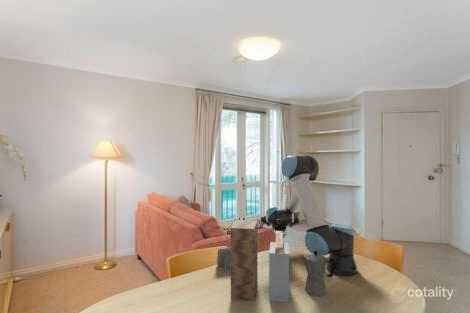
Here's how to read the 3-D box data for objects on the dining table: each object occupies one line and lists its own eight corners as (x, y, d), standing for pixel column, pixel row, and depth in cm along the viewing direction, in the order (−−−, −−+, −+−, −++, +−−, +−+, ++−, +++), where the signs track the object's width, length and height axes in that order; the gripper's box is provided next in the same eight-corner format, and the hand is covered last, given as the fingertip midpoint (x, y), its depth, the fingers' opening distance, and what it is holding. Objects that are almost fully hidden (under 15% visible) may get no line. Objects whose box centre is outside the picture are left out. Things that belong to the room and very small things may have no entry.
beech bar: (282, 237, 135) (282, 231, 135) (282, 255, 111) (282, 247, 111) (276, 236, 136) (276, 230, 136) (275, 254, 112) (275, 247, 112)
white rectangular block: (288, 286, 127) (288, 243, 126) (288, 302, 113) (288, 254, 112) (270, 285, 128) (270, 242, 128) (269, 301, 114) (269, 253, 114)
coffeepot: (298, 293, 120) (298, 252, 120) (301, 284, 129) (301, 245, 128) (336, 300, 114) (336, 257, 114) (337, 290, 123) (337, 249, 123)
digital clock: (246, 262, 155) (245, 243, 154) (247, 269, 146) (247, 249, 145) (217, 263, 154) (216, 244, 153) (216, 270, 145) (216, 250, 144)
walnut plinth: (257, 285, 128) (257, 220, 127) (254, 301, 114) (254, 228, 114) (236, 283, 130) (236, 219, 129) (230, 299, 116) (230, 227, 115)
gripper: (302, 234, 157) (304, 223, 139) (258, 232, 161) (255, 221, 143) (301, 221, 161) (304, 208, 143) (258, 220, 165) (255, 208, 147)
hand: (279, 215), depth 143 cm, fingers open, 13 cm apart
